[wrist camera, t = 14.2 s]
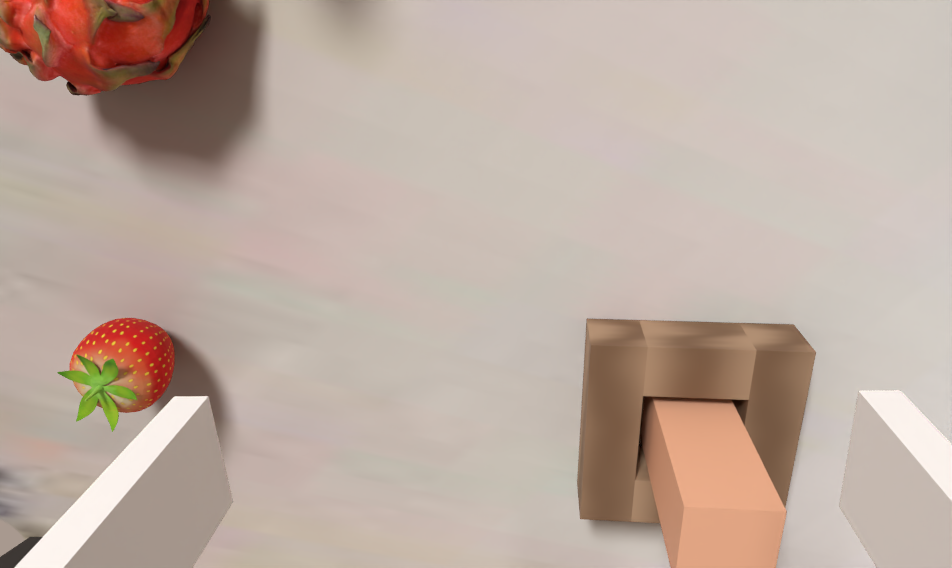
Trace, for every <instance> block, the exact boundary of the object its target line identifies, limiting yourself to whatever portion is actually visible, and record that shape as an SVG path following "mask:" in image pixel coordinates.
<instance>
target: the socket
mask: <svg viewBox="0 0 952 568" xmlns="http://www.w3.org/2000/svg"><path fill="white" fill-rule="evenodd" d="M815 355H816V352H815V350H814V349H813V348H812V347H811V346H810V344H809V343H808V342H807V341H806V339H805V338H804V337H803V336H802V334H801V333H800V332H799V331H798V329H797V328H796V327H795V326H794V325H789V324H754V323H719V322H683V321H648V320H613V319H587V323H586V340H585V357H584V375H583V392H582V409H581V427H580V444H579V462H578V479H577V485H578V498H579V510H580V519H590V520H609V521H628V522H647V523H660V519H659V515H658V511H657V507H656V502H655V498H654V494H653V490H652V485H651V481H650V477H649V473H648V468H647V464H646V460H645V456H644V451H643V447H642V446H638V445H639V434H640V424H641V413H642V403H643V396H656V397H683V398H709V399H731V400H732V402H733V404H734V406H735V408H736V410H737V412H738V414H739V416H740V418H741V420H742V422H743V424H744V426H745V428H746V430H747V432H748V434H749V436H750V438H751V440H752V442H753V444H754V446H755V448H756V450H757V452H758V454H759V456H760V458H761V461H762V463H763V465H764V467H765V469H766V471H767V473H768V475H769V477H770V479H771V481H772V483H773V485H774V487H775V489H776V491H777V493H778V495H779V497H780V499H781V501H782V503H783V505H784V507H785V506H786V501H787V496H788V491H789V486H790V481H791V476H792V471H793V466H794V461H795V455H796V450H797V445H798V440H799V435H800V430H801V425H802V420H803V415H804V410H805V405H806V400H807V395H808V390H809V385H810V380H811V375H812V370H813V365H814V360H815Z"/></svg>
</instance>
